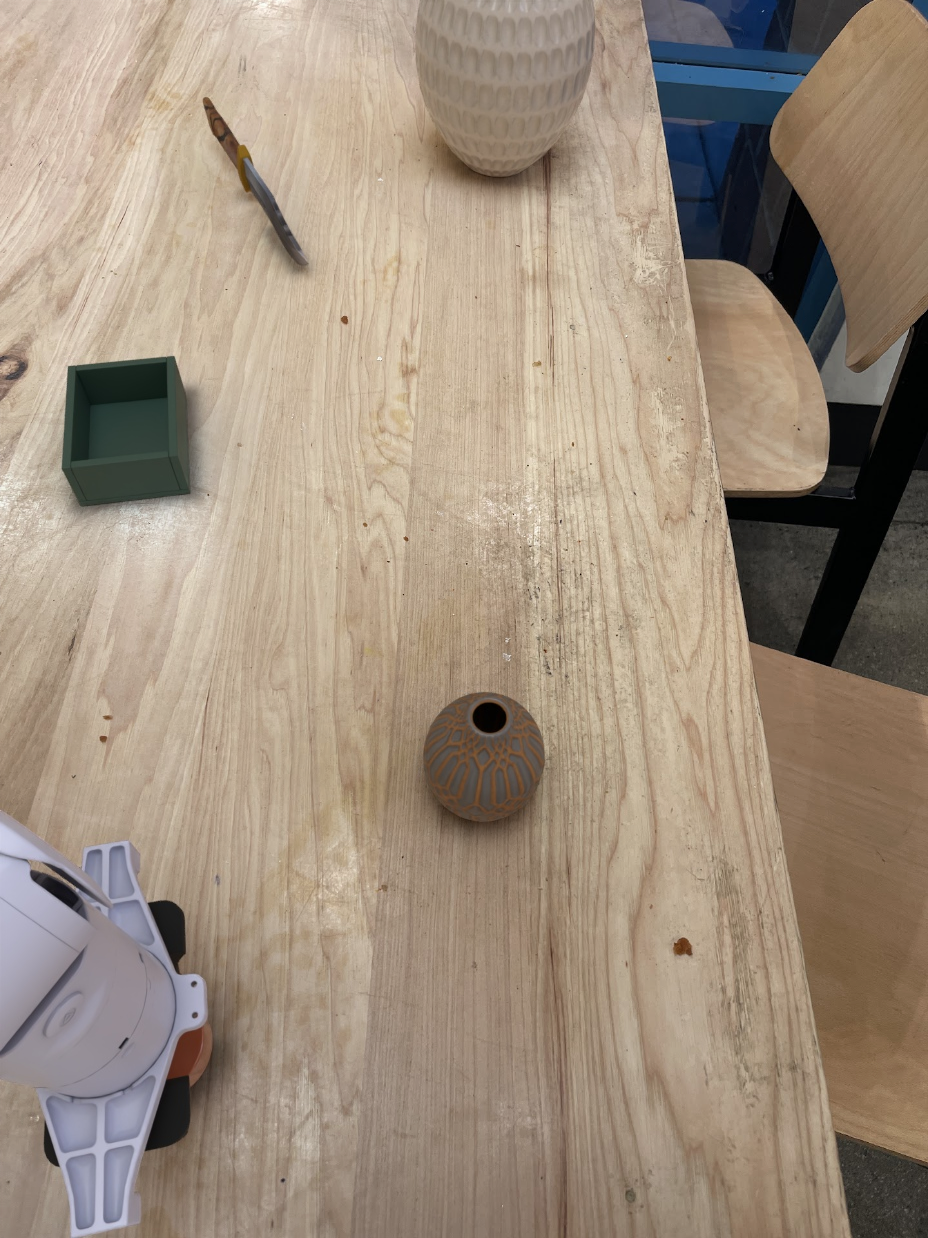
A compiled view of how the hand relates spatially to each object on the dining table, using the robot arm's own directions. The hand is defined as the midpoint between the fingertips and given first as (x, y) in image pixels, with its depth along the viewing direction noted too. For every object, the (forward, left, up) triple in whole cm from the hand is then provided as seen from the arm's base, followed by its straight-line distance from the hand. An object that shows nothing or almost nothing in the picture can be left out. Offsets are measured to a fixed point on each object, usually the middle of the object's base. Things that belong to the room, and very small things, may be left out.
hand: (159, 1046), depth 43 cm
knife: (+10, +70, -2) cm, 71 cm away
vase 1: (+34, +76, -2) cm, 84 cm away
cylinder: (0, 0, -1) cm, 1 cm away
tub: (-2, +42, -2) cm, 42 cm away
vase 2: (+19, +11, -2) cm, 22 cm away
